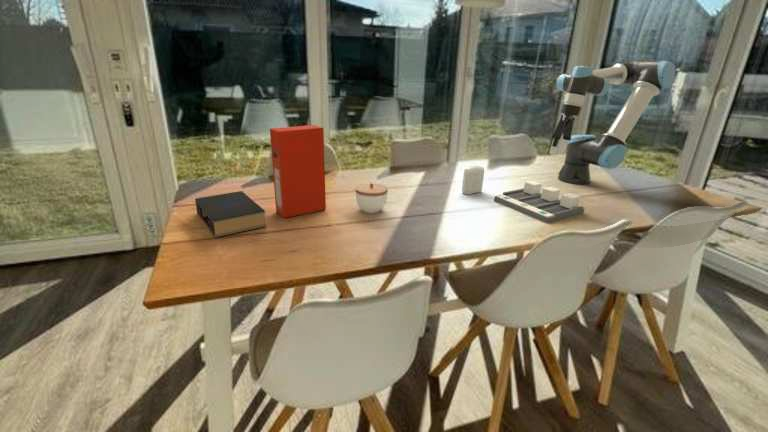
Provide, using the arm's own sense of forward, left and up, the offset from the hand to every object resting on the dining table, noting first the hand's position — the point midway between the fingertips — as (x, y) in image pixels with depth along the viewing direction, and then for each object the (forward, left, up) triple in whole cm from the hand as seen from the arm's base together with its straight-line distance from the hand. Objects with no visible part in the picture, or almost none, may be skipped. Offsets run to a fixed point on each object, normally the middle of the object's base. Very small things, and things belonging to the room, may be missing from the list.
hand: (556, 154), depth 179 cm
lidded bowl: (+81, -20, -19) cm, 86 cm away
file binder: (+106, -31, -19) cm, 112 cm away
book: (+132, -33, -20) cm, 138 cm away
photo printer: (+29, -19, -19) cm, 40 cm away
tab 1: (+10, -1, -16) cm, 20 cm away
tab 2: (+10, +18, -16) cm, 26 cm away
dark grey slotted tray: (+17, +8, -19) cm, 27 cm away
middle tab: (+10, +8, -16) cm, 21 cm away
